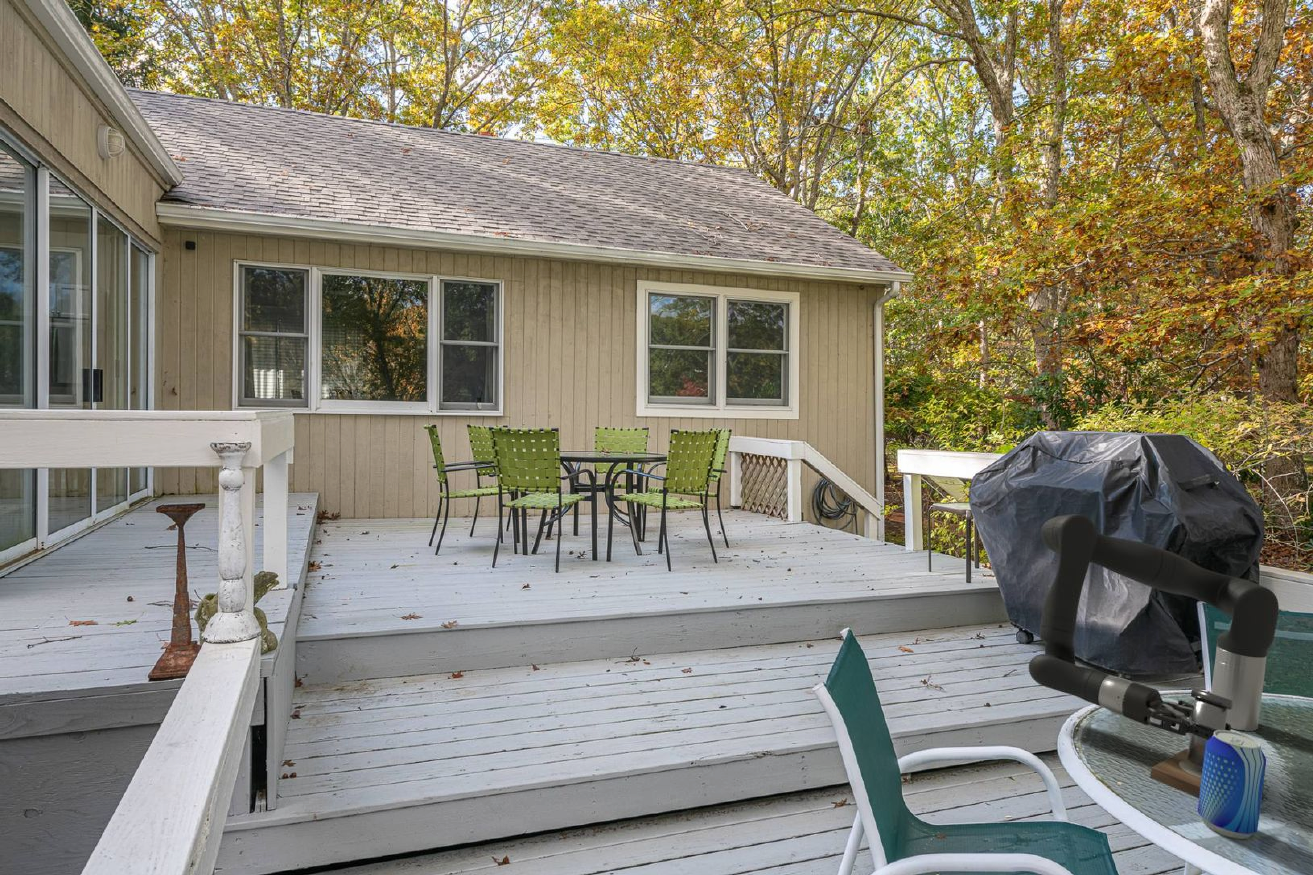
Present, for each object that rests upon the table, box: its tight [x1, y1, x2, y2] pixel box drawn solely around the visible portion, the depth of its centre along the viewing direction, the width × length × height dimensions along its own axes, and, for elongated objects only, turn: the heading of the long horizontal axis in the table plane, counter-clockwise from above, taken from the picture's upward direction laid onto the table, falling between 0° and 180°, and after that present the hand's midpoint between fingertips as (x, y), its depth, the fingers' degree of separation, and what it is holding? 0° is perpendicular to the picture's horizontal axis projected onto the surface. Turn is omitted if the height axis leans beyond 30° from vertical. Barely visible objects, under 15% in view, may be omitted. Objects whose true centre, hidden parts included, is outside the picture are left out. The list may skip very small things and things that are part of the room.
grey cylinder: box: [1187, 687, 1233, 767], centre depth 149 cm, size 5×6×14 cm
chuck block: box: [1149, 748, 1203, 799], centre depth 150 cm, size 16×12×2 cm
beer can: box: [1197, 730, 1267, 840], centre depth 133 cm, size 8×8×16 cm
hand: (1223, 733), depth 147 cm, fingers closed on grey cylinder, 5 cm apart
